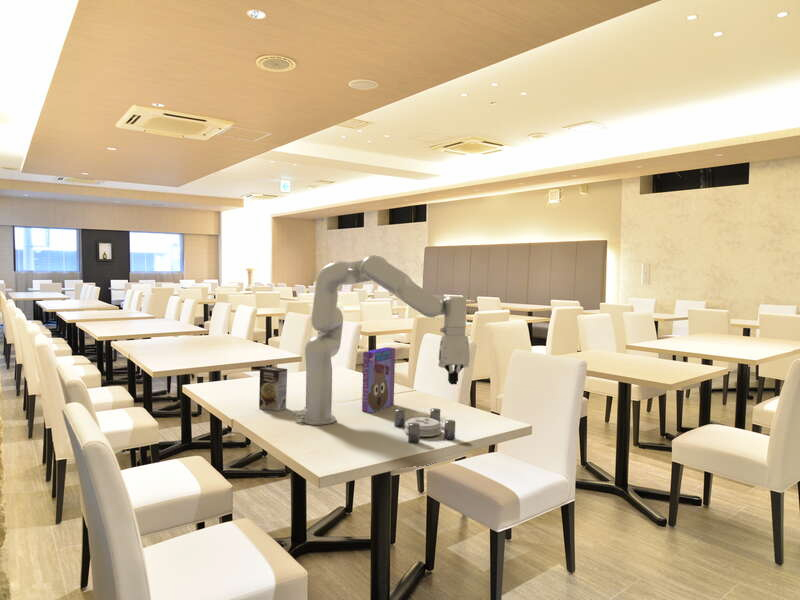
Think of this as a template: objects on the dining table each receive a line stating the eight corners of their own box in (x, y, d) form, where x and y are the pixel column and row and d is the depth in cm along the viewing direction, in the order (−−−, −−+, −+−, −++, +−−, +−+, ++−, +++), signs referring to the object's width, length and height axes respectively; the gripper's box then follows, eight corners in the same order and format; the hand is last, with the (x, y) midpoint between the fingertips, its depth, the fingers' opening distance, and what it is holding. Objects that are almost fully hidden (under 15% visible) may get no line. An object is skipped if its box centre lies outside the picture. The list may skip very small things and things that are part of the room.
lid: (442, 430, 197) (443, 416, 197) (439, 440, 185) (439, 425, 185) (407, 427, 199) (408, 413, 199) (401, 437, 187) (402, 423, 187)
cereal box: (372, 413, 217) (373, 352, 216) (362, 411, 219) (363, 351, 218) (393, 404, 233) (395, 347, 231) (383, 403, 235) (385, 346, 234)
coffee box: (258, 408, 219) (258, 368, 218) (268, 405, 225) (268, 366, 224) (277, 411, 216) (278, 370, 215) (287, 408, 222) (287, 368, 221)
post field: (409, 444, 179) (410, 425, 179) (393, 425, 201) (393, 408, 201) (457, 441, 183) (458, 423, 183) (436, 423, 205) (437, 407, 205)
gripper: (437, 332, 188) (435, 386, 188) (478, 332, 191) (477, 385, 192) (430, 330, 195) (429, 382, 196) (470, 330, 198) (469, 381, 199)
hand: (452, 383), depth 194 cm, fingers closed
